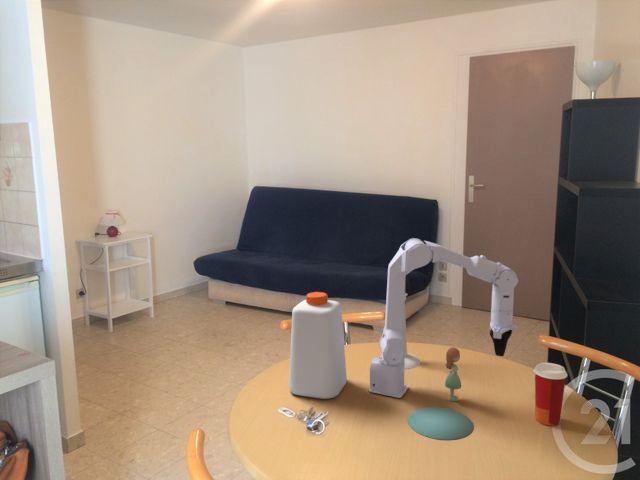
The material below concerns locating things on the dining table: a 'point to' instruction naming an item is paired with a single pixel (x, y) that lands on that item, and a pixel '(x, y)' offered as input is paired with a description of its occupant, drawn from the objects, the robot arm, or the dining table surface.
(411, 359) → the candlestick
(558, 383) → the paper cup
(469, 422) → the mat
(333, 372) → the plastic bottle
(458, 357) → the toy
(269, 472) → the dining table surface
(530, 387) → the dining table surface
